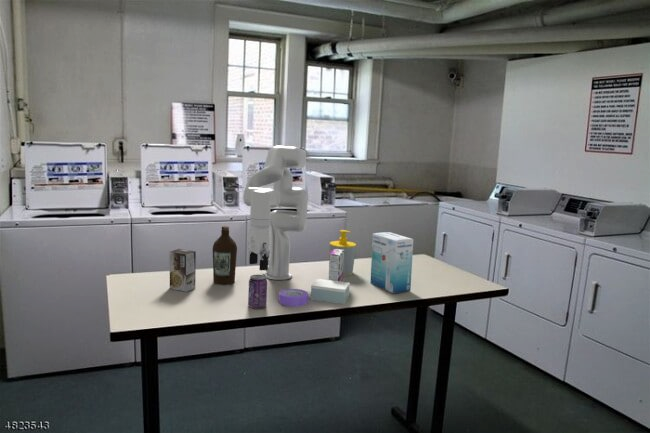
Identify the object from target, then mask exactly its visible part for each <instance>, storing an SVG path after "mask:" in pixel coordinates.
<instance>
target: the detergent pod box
mask: <svg viewBox="0 0 650 433" xmlns="http://www.w3.org/2000/svg"><path fill="white" fill-rule="evenodd" d="M350 284H351V283H350V282H346V281H343V282H339V281H331V280H329V279H323V278H316V280H315V281H314V282H313V283H312V284H311V285H310V300H311V301H318V302H319V301H320V302H326V303H333V304H340V305H341V304H342V305H344V304H345V303H346V301H347V300H348V298H349V296H350Z"/></svg>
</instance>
